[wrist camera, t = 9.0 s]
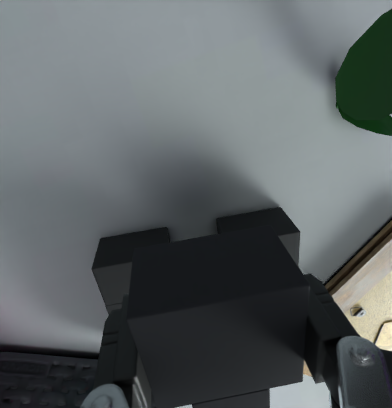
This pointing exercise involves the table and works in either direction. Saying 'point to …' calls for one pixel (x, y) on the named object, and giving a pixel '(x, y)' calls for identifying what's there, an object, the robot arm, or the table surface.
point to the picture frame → (367, 291)
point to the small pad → (218, 318)
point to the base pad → (125, 244)
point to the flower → (368, 79)
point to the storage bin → (45, 380)
